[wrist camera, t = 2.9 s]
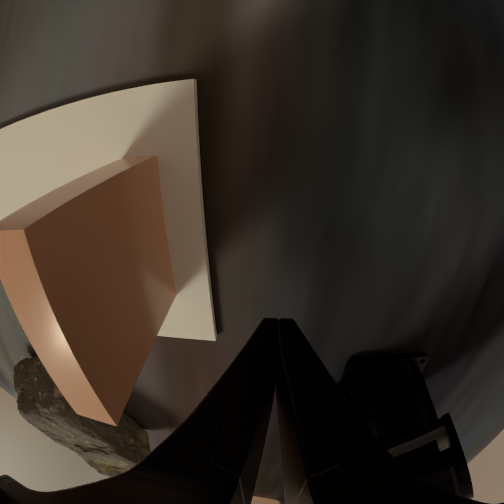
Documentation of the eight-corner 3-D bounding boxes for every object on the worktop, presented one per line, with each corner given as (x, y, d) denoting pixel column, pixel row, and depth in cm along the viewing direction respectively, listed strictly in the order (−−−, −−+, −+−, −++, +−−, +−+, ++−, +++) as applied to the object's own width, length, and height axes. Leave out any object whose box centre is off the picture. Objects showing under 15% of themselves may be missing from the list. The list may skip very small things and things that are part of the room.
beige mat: (196, 79, 12) (193, 78, 12) (216, 335, 19) (215, 340, 18) (-23, 140, 14) (-28, 142, 13) (24, 308, 20) (20, 312, 20)
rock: (168, 459, 21) (130, 490, 23) (174, 409, 27) (138, 448, 29) (-1, 359, 17) (-6, 411, 18) (33, 322, 23) (19, 376, 25)
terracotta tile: (157, 154, 13) (23, 229, 5) (176, 294, 17) (117, 426, 9) (121, 158, 14) (-17, 231, 6) (145, 292, 17) (76, 413, 9)
